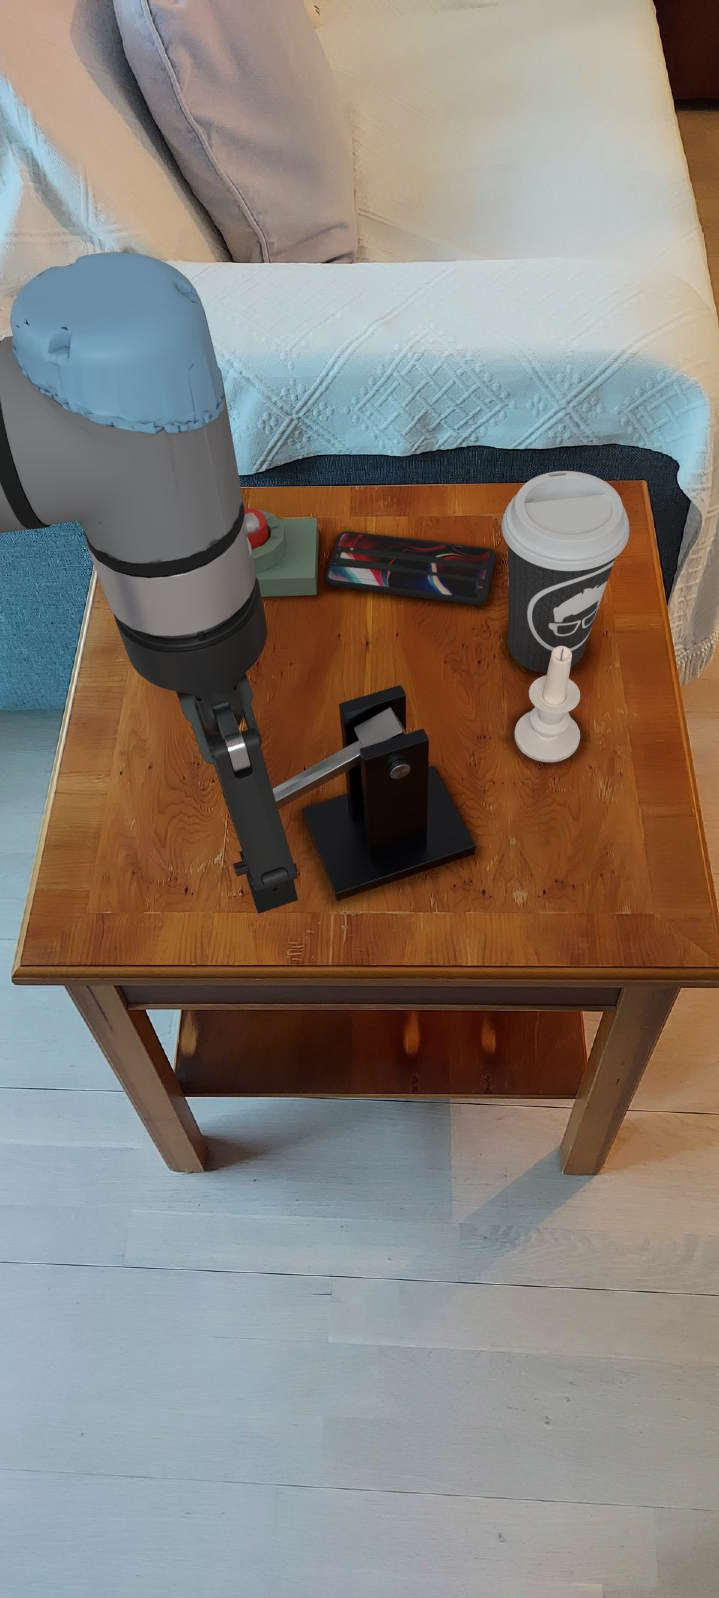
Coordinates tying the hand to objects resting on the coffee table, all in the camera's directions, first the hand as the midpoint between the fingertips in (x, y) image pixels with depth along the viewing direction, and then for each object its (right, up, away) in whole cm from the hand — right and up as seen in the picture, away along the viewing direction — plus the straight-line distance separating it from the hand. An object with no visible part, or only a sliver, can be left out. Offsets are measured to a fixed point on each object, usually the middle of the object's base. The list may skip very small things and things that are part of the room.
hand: (246, 820), depth 68 cm
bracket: (+10, -1, +8) cm, 13 cm away
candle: (+23, +6, +13) cm, 27 cm away
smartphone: (+12, +22, +24) cm, 35 cm away
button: (-2, +25, +22) cm, 34 cm away
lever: (+5, +2, 0) cm, 6 cm away
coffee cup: (+24, +15, +19) cm, 33 cm away
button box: (-2, +23, +25) cm, 35 cm away
